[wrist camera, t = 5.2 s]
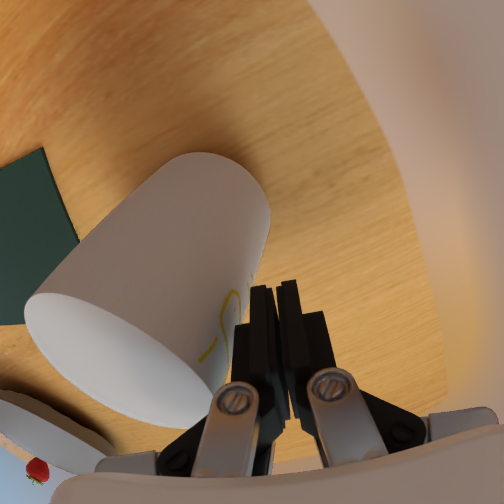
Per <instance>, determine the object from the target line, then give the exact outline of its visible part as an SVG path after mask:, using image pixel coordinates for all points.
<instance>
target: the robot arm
mask: <svg viewBox="0 0 504 504" xmlns="http://www.w3.org/2000/svg"><path fill="white" fill-rule="evenodd" d="M281 285H282V286H278V287H276V292H277V303H278V313H279V318H278V314H277V309H276V305H275V300H274V295H273V291H272V288H266V285H260V286H254V287H250V323H246V324H239V325H235V328H234V340H233V355H232V371H231V383H228V384H225V385H224V386H222V387H221V388H219V389H218V390H217V391H216V393H215V394H214V396H213V398H212V402H211V405H210V409H209V412H208V414H207V415H206V416H205V417H204V418H202V419H201V420H200V421H199V422H197V423H196V424H195V425H194V426H192V427H191V428H190V429H189V430H187V431H186V432H185V433H184V434H182V435H181V436H180V437H178V438H177V439H176V440H175V441H173V442H172V443H171V444H169V445H168V446H167V447H166V448H165V449H164V450H163V451H162V452H156V451H154V450H153V451H147V452H140V453H134V454H126V455H118V456H109V457H106V458H103V459H102V460H100V461H99V462H98V464H97V465H96V467H95V471H94V473H87V474H82V475H78V476H75V477H72V478H69V479H68V480H65V481H64V482H62V483H61V484H60V485H59V486H58V487H57V488H56V490H55V491H54V494H53V495H52V497H51V500H50V503H49V504H504V424H499V421H498V418H497V415H496V413H495V412H494V411H493V410H492V409H490V408H487V407H475V408H469V409H464V410H456V411H449V412H441V413H433V414H429V415H428V416H427V417H418V416H416V415H415V414H413V413H410V412H408V411H406V410H404V409H401V408H399V407H397V406H395V405H392V404H390V403H388V402H386V401H384V400H381V399H379V398H377V397H375V396H373V395H371V394H369V393H366V392H364V391H362V390H360V389H359V388H358V386H357V384H356V382H355V379H354V378H353V376H352V375H351V374H350V373H349V372H347V371H346V370H344V369H341V368H337V367H336V362H335V358H334V354H333V350H332V346H331V342H330V338H329V334H328V329H327V325H326V322H325V318H324V314H323V311H318V312H313V313H307V314H302V310H301V305H300V299H299V294H298V288H297V283H296V279H294V280H289V281H283V282H281ZM288 390H289V395H290V399H291V403H292V408H293V412H294V416H295V419H297V418H300V422H301V427H302V430H304V431H306V432H307V433H309V434H310V435H312V436H314V441H315V444H316V447H317V451H318V454H319V457H320V460H321V463H322V467H323V469H319V470H312V471H304V472H298V473H289V474H279V475H271V473H272V466H273V459H274V452H275V445H276V442H275V439H276V438H277V437H278V436H279V435H280V434H281V433H282V432H283V429H284V428H285V420H290V407H289V395H288Z"/></svg>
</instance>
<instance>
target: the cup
mask: <svg viewBox="0 0 504 504" xmlns="http://www.w3.org/2000/svg"><path fill="white" fill-rule="evenodd" d="M270 223H271V214H270V207H269V203H268V200H267V197H266V195H265V193H264V191H263V189H262V187H261V186H260V184H259V183H258V182H257V180H256V179H255V178H254V177H253V176H252V175H251V174H250V173H249V172H248V171H247V170H246V169H245V168H243V167H242V166H241V165H239V164H238V163H236V162H234V161H232V160H231V159H228V158H226V157H223V156H221V155H217V154H213V153H206V152H193V153H187V154H183V155H180V156H177V157H175V158H173V159H171V160H170V161H168V162H167V163H165V164H164V165H163V166H162V167H160V168H159V169H158V170H157V171H156V172H155V173H153V174H152V175H151V176H150V177H149V178H148V179H147V180H145V181H144V182H143V183H142V184H141V185H140V186H139V187H137V188H136V189H135V190H134V191H133V192H132V193H131V194H130V195H129V196H127V197H126V198H125V199H124V200H123V201H122V202H121V203H120V204H119V205H118V206H117V207H116V208H115V209H113V210H112V211H111V212H110V213H109V214H108V215H107V216H106V217H105V218H104V219H103V220H102V221H101V222H100V223H99V224H98V225H97V226H96V227H95V228H94V229H93V230H92V231H91V232H90V233H89V234H88V235H87V236H86V237H85V238H84V239H83V240H82V241H81V242H80V243H79V244H78V245H77V246H76V247H75V248H74V249H73V250H72V251H71V252H70V253H69V255H68V256H67V257H66V258H65V259H64V260H63V261H62V262H61V263H60V264H59V265H58V266H57V268H56V269H55V270H54V271H53V272H52V273H51V274H50V275H49V276H48V278H47V279H46V280H45V281H44V282H43V283H42V284H41V286H40V287H39V288H38V289H37V290H36V291H35V293H34V294H33V295H32V296H31V297H30V298H29V300H28V301H27V303H26V305H25V309H24V317H25V322H26V326H27V328H28V331H29V333H30V335H31V337H32V339H33V341H34V343H35V344H36V346H37V347H38V349H39V350H40V351H41V353H42V354H43V355H44V357H45V358H46V359H47V360H48V361H49V363H50V364H51V365H52V366H53V367H54V368H55V369H56V370H57V371H58V372H59V373H60V374H61V375H62V376H63V377H65V378H66V379H67V380H68V381H69V382H71V383H72V384H73V385H74V386H76V387H77V388H78V389H80V390H81V391H82V392H84V393H85V394H87V395H88V396H90V397H91V398H93V399H94V400H96V401H98V402H99V403H101V404H103V405H105V406H106V407H108V408H110V409H112V410H114V411H116V412H119V413H121V414H123V415H125V416H128V417H130V418H133V419H136V420H139V421H142V422H145V423H148V424H152V425H156V426H161V427H167V428H176V429H189V428H191V427H192V426H194V425H195V424H196V423H197V422H199V421H200V420H201V419H202V418H204V417H205V416H206V415H207V414H208V412H209V409H210V405H211V402H212V398H213V396H214V394H215V393H216V391H217V390H218V389H219V388H221V387H222V386H224V384H225V380H226V377H227V374H228V370H229V367H230V364H231V360H232V355H233V340H234V328H235V325H239V324H242V323H243V320H244V316H245V313H246V309H247V306H248V303H249V299H250V287H253V285H254V282H255V278H256V275H257V271H258V268H259V265H260V261H261V258H262V254H263V251H264V247H265V244H266V240H267V237H268V233H269V229H270Z"/></svg>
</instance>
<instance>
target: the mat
mask: <svg viewBox="0 0 504 504" xmlns="http://www.w3.org/2000/svg"><path fill="white" fill-rule="evenodd" d="M79 243H80V241H79V239H78V237H77V234H76V232H75V230H74V228H73V225H72V223H71V221H70V218H69V216H68V214H67V211H66V209H65V206H64V204H63V201H62V199H61V196H60V194H59V191H58V189H57V186H56V183H55V181H54V178H53V175H52V173H51V170H50V167H49V164H48V161H47V158H46V155H45V152H44V149H43V147H42V148H40V149H38V150H36V151H34V152H32V153H30V154H28V155H26V156H25V157H23V158H21V159H19V160H17V161H15V162H13V163H11V164H10V165H8V166H6V167H4V168H3V169H1V170H0V325H16V324H26V322H25V317H24V309H25V305H26V303H27V301H28V300H29V298H30V297H31V296H32V295H33V294H34V293H35V291H36V290H37V289H38V288H39V287H40V286H41V284H42V283H43V282H44V281H45V280H46V279H47V278H48V276H49V275H50V274H51V273H52V272H53V271H54V270H55V269H56V268H57V266H58V265H59V264H60V263H61V262H62V261H63V260H64V259H65V258H66V257H67V256H68V255H69V253H70V252H71V251H72V250H73V249H74V248H75V247H76V246H77V245H78V244H79Z"/></svg>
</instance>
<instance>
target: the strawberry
mask: <svg viewBox="0 0 504 504" xmlns="http://www.w3.org/2000/svg"><path fill="white" fill-rule="evenodd" d="M26 471H27V474H28V475H29V476H28V475H27V477H29V479H31V480H33V481H34V480H35V481H36V482H37V483H39V484H41V483H42V482H46V481H47V480H48V479H49V468H48V465H47V462H45V461H43V460H41V459H39V458H37V457H35V458H34V459H32V460H31V461H30V462H29V463H28V464H27V466H26ZM42 484H43V483H42ZM42 484H41V485H42Z"/></svg>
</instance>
